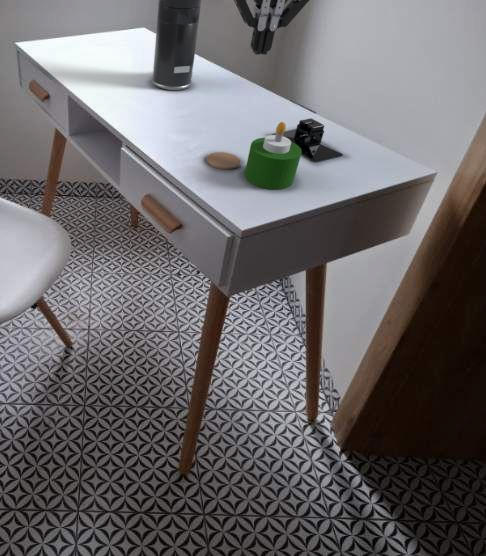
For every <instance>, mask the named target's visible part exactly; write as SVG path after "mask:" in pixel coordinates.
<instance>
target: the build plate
mask: <svg viewBox="0 0 486 556" xmlns="http://www.w3.org/2000/svg"><path fill="white" fill-rule="evenodd" d="M324 129H325V124H323V123H321V122H319V121H317V120H316V119H313V118H312V117H310V118H305V119H300V120H299V122H298V124H297V125H296V128H295V129H290V130H289V129H288V130H285V132H284V133H283V137H286V138H288V139H289V140H290V141H291V142H293V143H295V144H296V145H298V146H299V147H300V148H301V151H302V153H301V156H303V157H305V158H306V159H308V160H310V161H311V162H312V163H318V162H322V161H327V160H331V159H335V158H339V157H343V155H344V154H343V152H340V151H338V150H336V149H335V148H333V147H331V146H330V145H328V144H326V143H324V142H322V140H323V137H324V134H325V130H324ZM270 135H276V132H275V133H271V134H270Z"/></svg>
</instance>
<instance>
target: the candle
mask: <svg viewBox="0 0 486 556" xmlns="http://www.w3.org/2000/svg"><path fill="white" fill-rule="evenodd" d="M286 129H287V126H286V123H285V122H284V121H280V122H279V123H278V124H277V126H276V128H275V133H276V135H271V134H270V135H266V136H265V137H258V138H256V139H254V140H252V141H251V143H250V147H249V152H248V157H247V161H246V165H245V169H244V170H245V171H244V178H245V180H247V182H249V183H250V184H252V185H254V186H256V187H258V188H262V189H265V190H274V191H275V190H276V191H277V190H284V189H288V188H290V187H292V186H293V184H294V181H295V177H296V174H297V170H298V167H299V163H300V160H301V157H302V155H301V153H302V151H301V148H300V147H299V146H298V145H296V144H295V143H293V142H291V141H290V140H289V139H288V138H286V137H283V133H284V132H285V131H287V130H286Z"/></svg>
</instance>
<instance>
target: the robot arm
mask: <svg viewBox="0 0 486 556" xmlns="http://www.w3.org/2000/svg"><path fill="white" fill-rule="evenodd" d="M233 1H234V4H235V6H236V8H237V10H238V12H239V14H240V16H241V19H242V21H243V23H245V24H246V25H247V26H248V27H250V28H252V35H251V40H250V49H251V50H252V53H253V54H254V55H257V56H258V55H262V56H265V55H266V56H267V55H268V52H270V51H271V49H272V48H273V42H274V39H275V33H276V31H277V30H278V29H281V28H282V27H283V28H286V27H288V25H290V23H291V22H292V21H293V20H294V19H295V18H296V16H297V15H298V14H299V13H300V12H301V11H302V10H303V9H304V7H305V6H306V5H307V4H308V3H309V2H310V0H290V2H289V3H288V4H287V2H288V1H289V0H253V2H254V9H253V10H254V15H253V13H252V11H251V9H250V7H249V5H248V2H247V1H248V0H233ZM286 4H287V5H286ZM201 5H202V0H158V4H157V16H156V17H157V18H156V19H157V20H156V29H155V31H156V32H155V41H154V42H155V44H154V46H155V47H154V55H153V56H154V57H153V66H152V67H153V68H152V69H153V70H152V77H151V83H152V85H153V86H155V87H156V88H159V89H163V90H168V91H184V90H186V89H189V88H190V87H191V86H192V78H193V72H194V71H193V70H194V64H195V63H194V61H195V54H196V47H197V38H198V30H199V22H200V14H201V7H202V6H201ZM285 5H286V7H285Z"/></svg>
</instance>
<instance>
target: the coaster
mask: <svg viewBox="0 0 486 556" xmlns="http://www.w3.org/2000/svg"><path fill="white" fill-rule="evenodd" d="M206 162H207V164H208V165H209V166H211V167H213V168H216V169H219V170H234V169H237V168H238V167H240V166H241V159H240V158H239V157H238V156H237V155H235V154H233V153H229V152H225V151H216V152H212V153H210V154H208V155H207V156H206Z"/></svg>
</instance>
